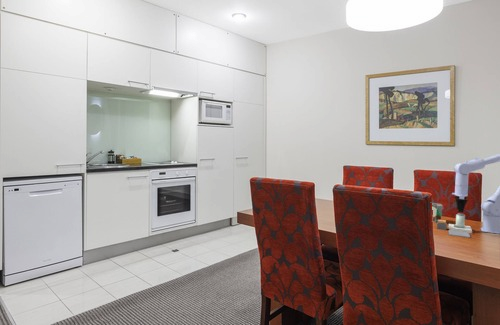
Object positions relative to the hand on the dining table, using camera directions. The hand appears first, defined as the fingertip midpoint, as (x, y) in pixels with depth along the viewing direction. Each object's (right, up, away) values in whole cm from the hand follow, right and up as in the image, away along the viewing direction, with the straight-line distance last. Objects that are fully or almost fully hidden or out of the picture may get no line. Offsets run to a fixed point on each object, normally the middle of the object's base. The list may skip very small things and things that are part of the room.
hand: (460, 210), depth 174 cm
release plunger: (-9, -10, +2) cm, 13 cm away
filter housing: (-2, -10, +2) cm, 11 cm away
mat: (-6, -11, -8) cm, 15 cm away
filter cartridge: (0, -10, +1) cm, 10 cm away
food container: (-1, -9, +21) cm, 23 cm away
